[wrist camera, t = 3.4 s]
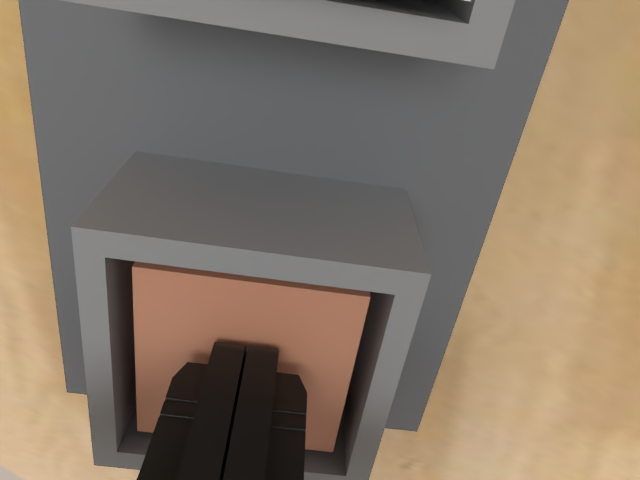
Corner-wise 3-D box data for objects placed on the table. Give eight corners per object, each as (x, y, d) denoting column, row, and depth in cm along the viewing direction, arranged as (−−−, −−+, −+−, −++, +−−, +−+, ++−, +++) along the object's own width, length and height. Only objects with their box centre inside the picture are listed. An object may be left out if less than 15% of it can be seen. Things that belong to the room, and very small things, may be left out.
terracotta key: (158, 220, 13) (131, 266, 11) (364, 248, 13) (370, 297, 11) (158, 374, 15) (137, 430, 13) (332, 393, 16) (332, 452, 14)
